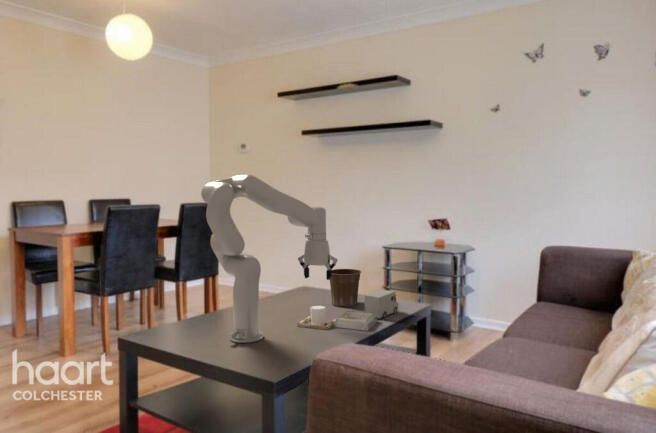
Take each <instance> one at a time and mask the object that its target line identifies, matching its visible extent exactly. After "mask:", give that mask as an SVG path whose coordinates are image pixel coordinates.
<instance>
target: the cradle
mask: <svg viewBox="0 0 656 433" xmlns="http://www.w3.org/2000/svg"><path fill="white" fill-rule="evenodd" d="M337 319H338V318H334V319H333V320H331V321H330V322H328V323H327V324H326V325H313V324H311V323H307V322H309V321H311V315H309V316H306V318H303V319H302V320H301V321H299V322H298V323H297V324H296V326H297V327H299V328H310V329H315V330H324V331H325V330H326V331H327V330H328V329H330V328H331V327H332V326H335V320H337Z"/></svg>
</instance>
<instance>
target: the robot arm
mask: <svg viewBox="0 0 656 433" xmlns="http://www.w3.org/2000/svg"><path fill="white" fill-rule="evenodd" d="M200 195H201V198H202V200H203V201H204V203H206V204H207V206H206V210H205V211H206V212H205V213H206V214H205V216H206V222H207V226H209V229H210V230H211V233H212V234H211V235H210V247H211V250H212V251H213V254H214V255H215V256H216V258H217V260H218V261H219V263H220V265H221V267H222V268H223V271H224V272H225V273H226V274H228V275H229V276H231V277H234V278H235V279H234V282H233V288H232V301H233V302H232V304H233V307H232V308H233V313H232V314H233V316H232V318H233V321H232V322H233V328H232V332H231V333H229V334H228V335H227V339H228V340H230V341H231V342H235V343H238V344H239V343H241V344H243V343H245V344H247V343H255V342H258V341H260V340H263V338H264V333H263V331H260V296H259V295H260V293H259V292H260V291H259V290H260V277H261V272H262V270H261V268H262V267H261V262H259V259H257V258H256V256H254V255H252V254H247V253H243V251H245V246H246V244H245V239H244V237H243V235H242V234H241V232H240V230H239V229H238V227H237V225H236V223H235V221H234V219H233V217H232V215H231V207H232V203H233V201H234V199H238V198H246V199H248V200H250V201H251V202H253V203H254V204H257V205H259V206H260V207H262V208H264V209H265V210H267V211H268V212H272V213H276V214H279V215H283V216H286V217H287V220H288V223H290V224H291V225H292V226H296V227H304V228H307V233H306V234H304V238H307V240H305V245H304V253H303V255H300V256H299V257H297V261H298V263H299V264H300V266H301V267H302V270H303V276H304V279H309V278H310V268H309V266H322V267H325V268H326V274H325V275H326V280H327V281H328V280H329V279H331V277H332V270H333V268H334V267H336V266H337V263H338V260H339V259H338V258H336V257H334V256H333V255H331V252H330V245H329V241H328V240H327V212H326V211H327V209H326V208H324V207H322V206H321V207H319V206H314V207H311V206H310V205H308V204H306V203H305V202H303V201H301V200H300V199H297V198H295V197H294V196H293V197H292V196H290V195H288V194H287V193H284V192H282V191H280V190H279V189H276V188H275V187H273V186H272V185H270V184H268V183H267V182H265V181H264V180H262V179H260V178H258V177H257V176H255V175H252V174H237V175H234V176H230V177H226V178H221V179H218V180H215V181H210V182H208V183H206V184H204V185H203V187H202V189H201V192H200ZM331 261H332V263H331ZM329 281H330V280H329Z"/></svg>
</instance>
